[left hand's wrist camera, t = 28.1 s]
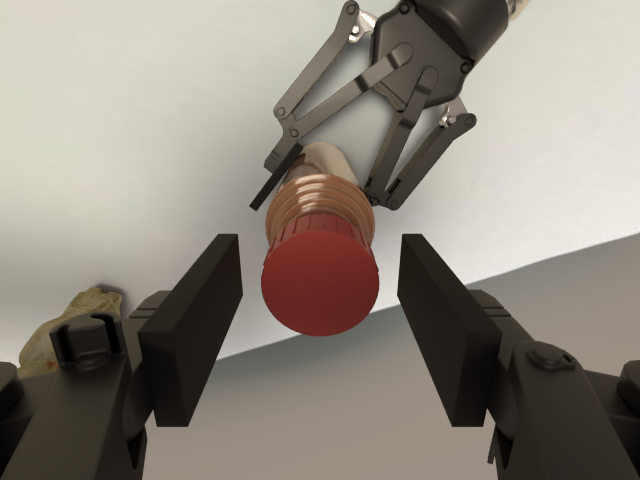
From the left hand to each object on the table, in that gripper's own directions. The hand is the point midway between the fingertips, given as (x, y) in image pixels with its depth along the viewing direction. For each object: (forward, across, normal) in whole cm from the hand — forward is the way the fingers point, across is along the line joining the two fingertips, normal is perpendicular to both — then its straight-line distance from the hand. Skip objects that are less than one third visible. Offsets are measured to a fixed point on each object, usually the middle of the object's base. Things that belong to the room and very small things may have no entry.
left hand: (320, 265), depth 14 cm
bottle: (+24, 0, 0) cm, 24 cm away
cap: (-2, 0, 0) cm, 2 cm away
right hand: (+18, -3, -4) cm, 18 cm away
